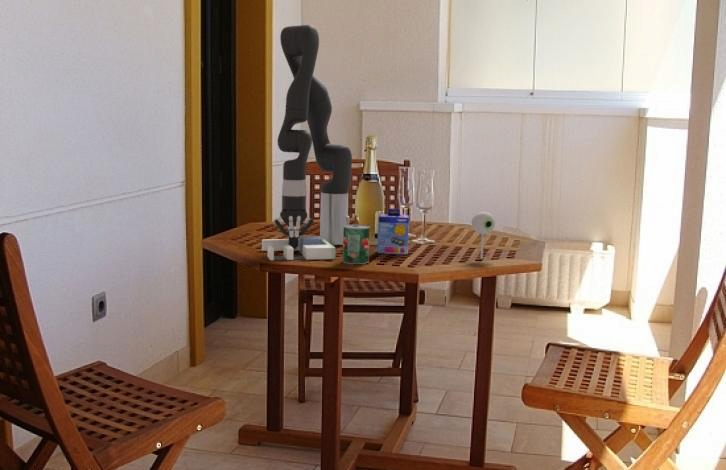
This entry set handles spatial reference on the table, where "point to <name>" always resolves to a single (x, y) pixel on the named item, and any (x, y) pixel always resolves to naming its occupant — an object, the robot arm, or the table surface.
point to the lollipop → (483, 225)
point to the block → (309, 241)
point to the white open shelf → (308, 250)
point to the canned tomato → (356, 244)
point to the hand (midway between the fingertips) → (293, 248)
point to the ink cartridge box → (393, 233)
